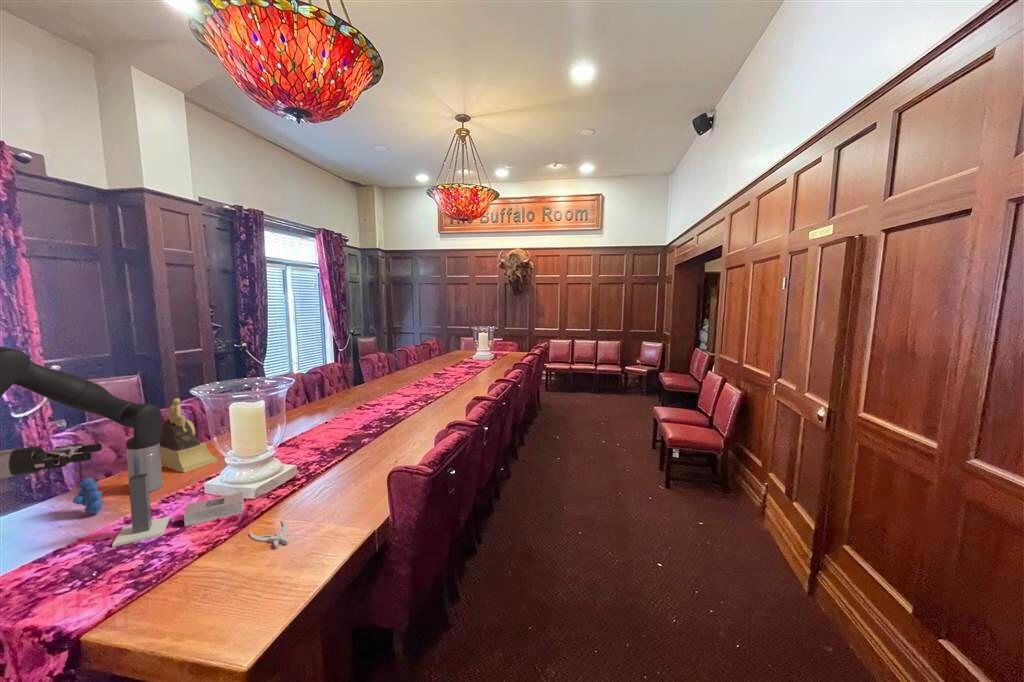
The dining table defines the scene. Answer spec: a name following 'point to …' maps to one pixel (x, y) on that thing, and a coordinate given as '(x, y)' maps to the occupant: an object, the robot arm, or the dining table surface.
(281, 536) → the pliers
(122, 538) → the sage pad
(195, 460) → the seated figure statue
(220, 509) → the grey slotted block
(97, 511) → the grapes
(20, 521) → the dining table surface
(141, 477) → the steel peg
